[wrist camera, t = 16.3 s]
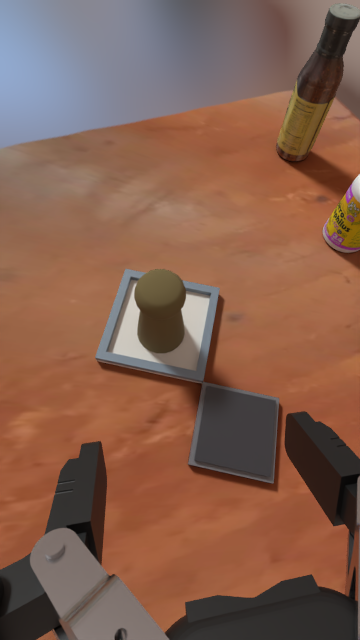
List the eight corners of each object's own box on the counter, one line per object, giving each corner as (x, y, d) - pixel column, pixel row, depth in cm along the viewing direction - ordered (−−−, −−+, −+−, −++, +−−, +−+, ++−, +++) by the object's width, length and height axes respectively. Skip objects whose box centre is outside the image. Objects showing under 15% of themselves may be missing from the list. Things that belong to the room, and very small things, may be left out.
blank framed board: (97, 361, 39) (95, 357, 38) (126, 274, 44) (125, 268, 43) (202, 383, 38) (203, 381, 37) (218, 293, 44) (219, 288, 43)
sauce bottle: (293, 137, 60) (350, -6, 42) (315, 157, 58) (384, 15, 40) (265, 147, 58) (312, 2, 40) (287, 168, 56) (346, 25, 38)
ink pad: (187, 464, 34) (188, 464, 33) (202, 383, 38) (203, 380, 37) (270, 483, 34) (275, 483, 33) (276, 399, 38) (280, 397, 37)
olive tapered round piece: (194, 330, 41) (204, 285, 31) (160, 363, 39) (160, 326, 29) (161, 301, 42) (160, 249, 32) (127, 331, 40) (115, 285, 30)
